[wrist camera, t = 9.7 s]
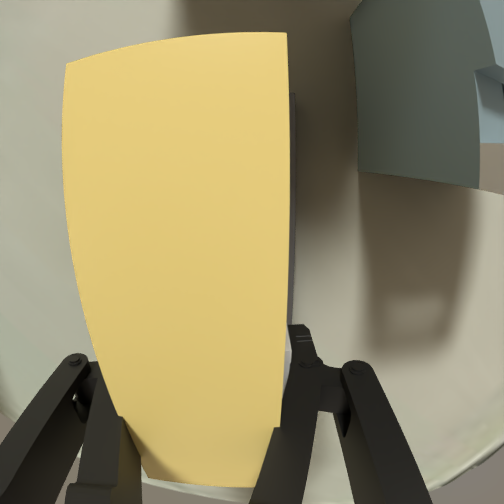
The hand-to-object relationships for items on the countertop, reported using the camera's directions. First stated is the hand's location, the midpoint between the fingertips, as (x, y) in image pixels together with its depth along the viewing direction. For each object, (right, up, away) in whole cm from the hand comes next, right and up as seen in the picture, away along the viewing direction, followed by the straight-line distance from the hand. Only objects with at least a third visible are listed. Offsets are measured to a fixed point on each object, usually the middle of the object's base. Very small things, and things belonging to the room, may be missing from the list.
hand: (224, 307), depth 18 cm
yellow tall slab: (0, +4, 0) cm, 4 cm away
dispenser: (+13, +15, 0) cm, 20 cm away
